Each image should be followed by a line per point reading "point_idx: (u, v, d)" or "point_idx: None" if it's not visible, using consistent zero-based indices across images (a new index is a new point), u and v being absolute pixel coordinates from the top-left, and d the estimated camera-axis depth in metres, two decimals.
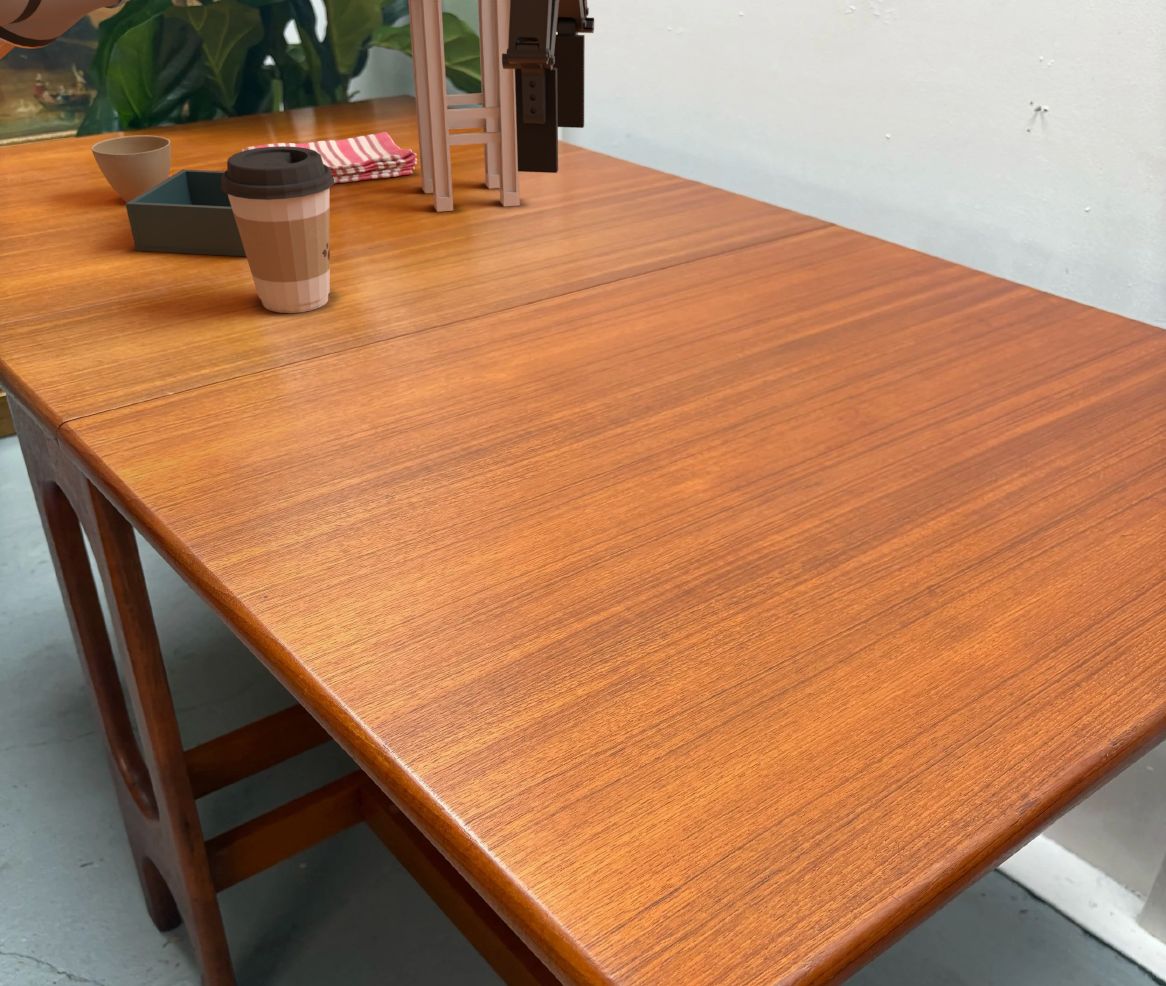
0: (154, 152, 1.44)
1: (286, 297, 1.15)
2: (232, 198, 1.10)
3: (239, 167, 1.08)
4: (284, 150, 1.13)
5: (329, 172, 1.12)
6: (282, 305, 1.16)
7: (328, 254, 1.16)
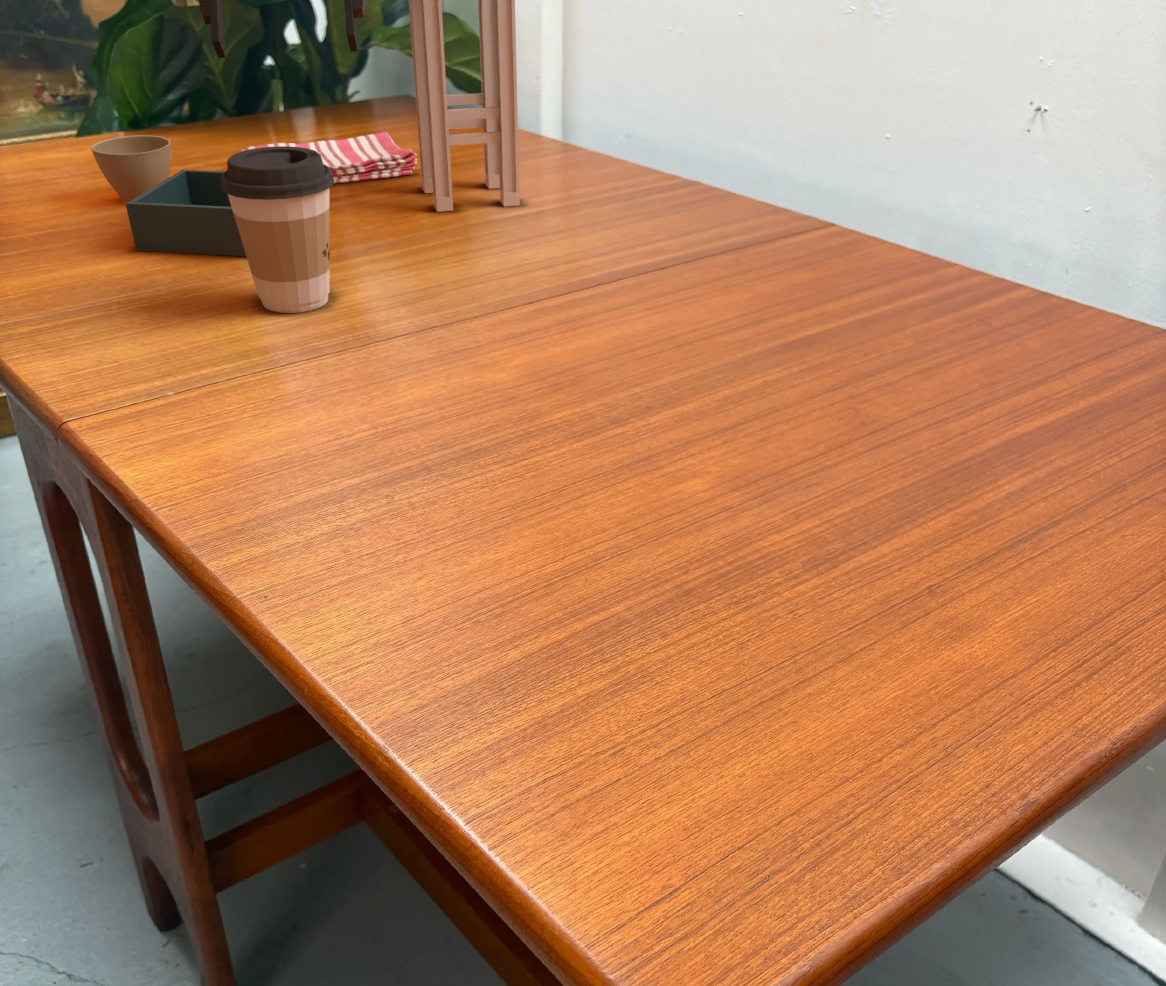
0: (154, 152, 1.44)
1: (286, 297, 1.15)
2: (232, 198, 1.10)
3: (239, 167, 1.08)
4: (284, 150, 1.13)
5: (329, 172, 1.12)
6: (282, 305, 1.16)
7: (328, 254, 1.16)
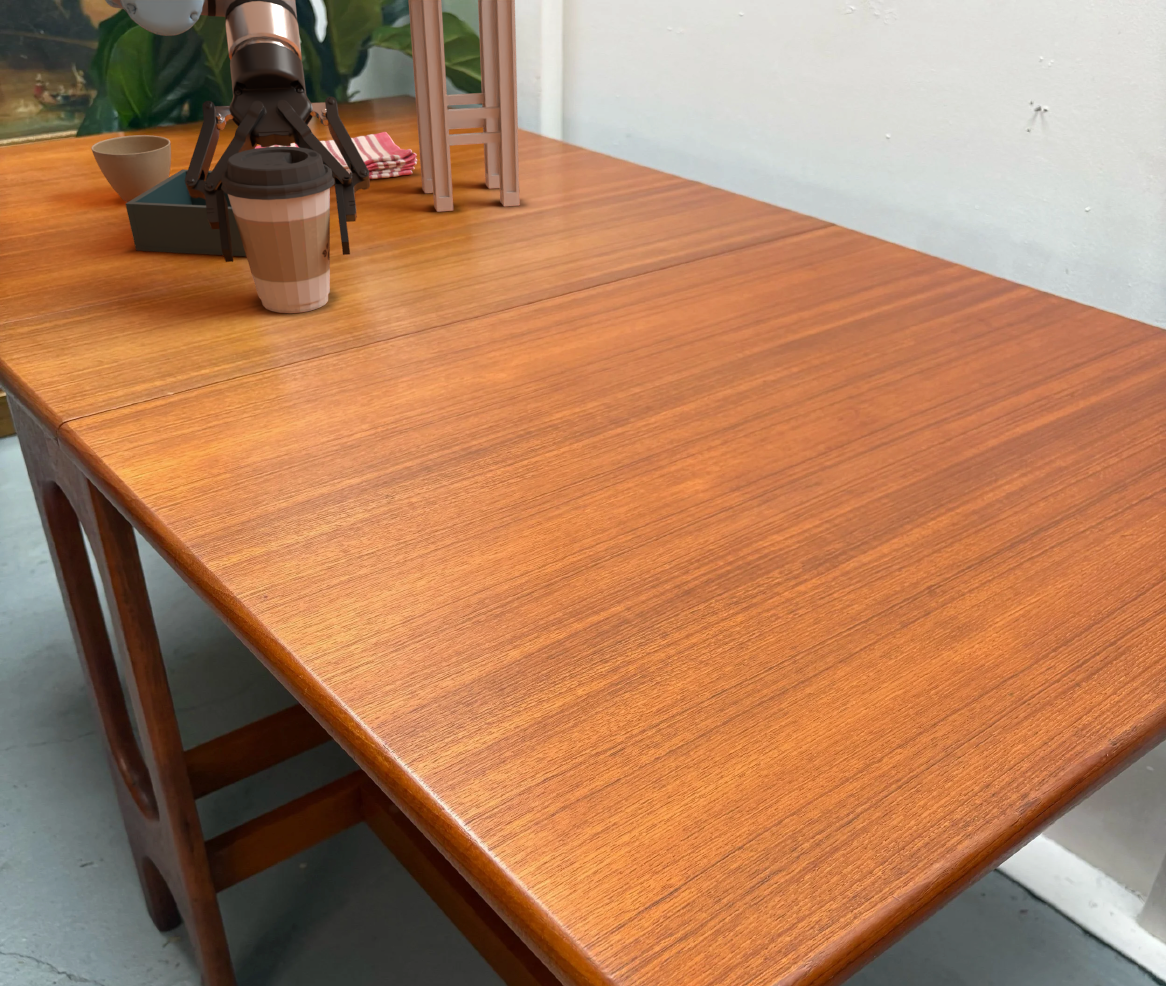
0: (154, 152, 1.44)
1: (286, 297, 1.15)
2: (232, 198, 1.10)
3: (239, 167, 1.08)
4: (284, 150, 1.13)
5: (329, 172, 1.12)
6: (282, 305, 1.16)
7: (328, 254, 1.16)
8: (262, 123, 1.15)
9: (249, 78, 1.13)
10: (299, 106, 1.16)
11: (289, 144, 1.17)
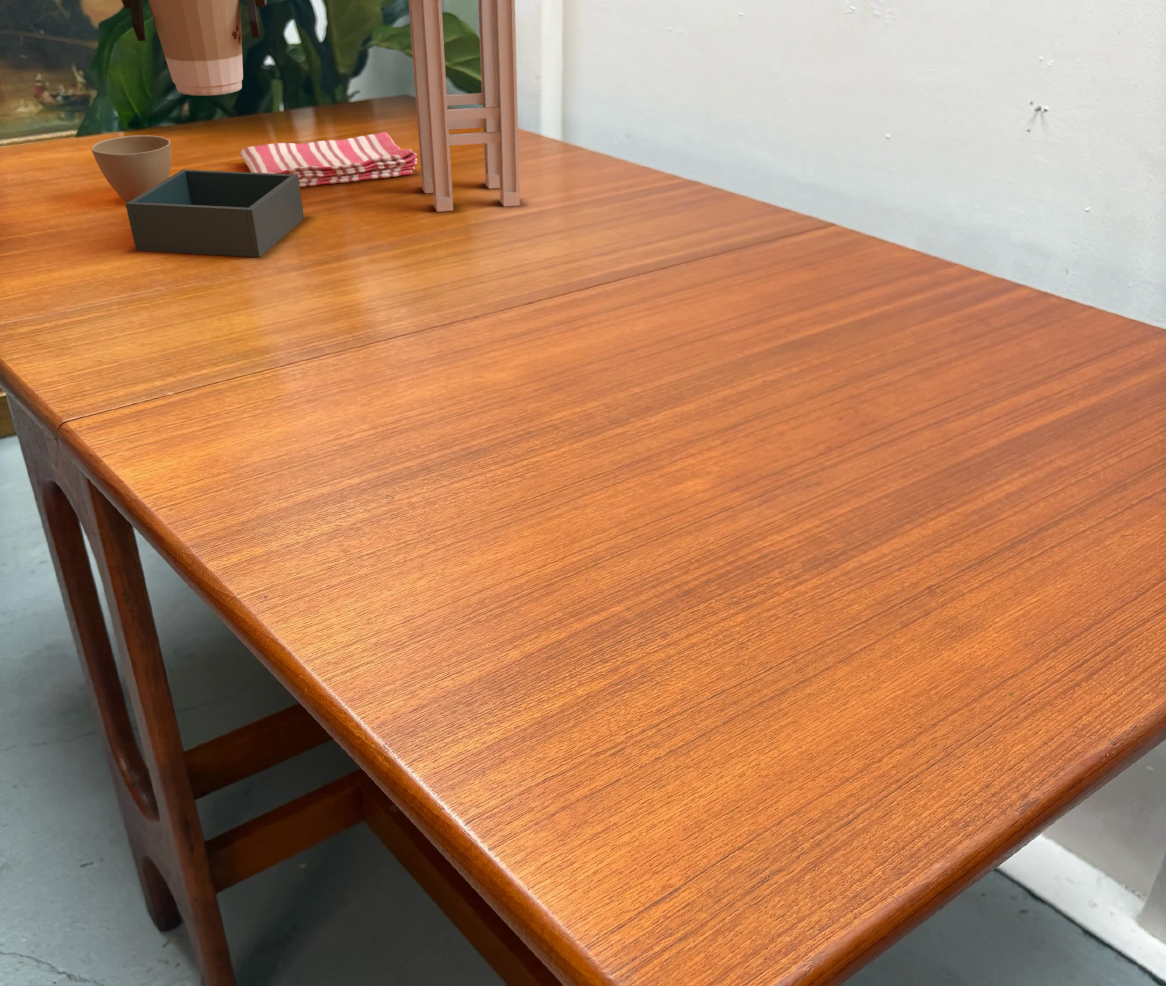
0: (154, 152, 1.44)
1: (197, 77, 1.19)
2: None
3: None
4: None
5: None
6: (193, 86, 1.20)
7: (239, 38, 1.20)
8: None
9: None
10: None
11: None
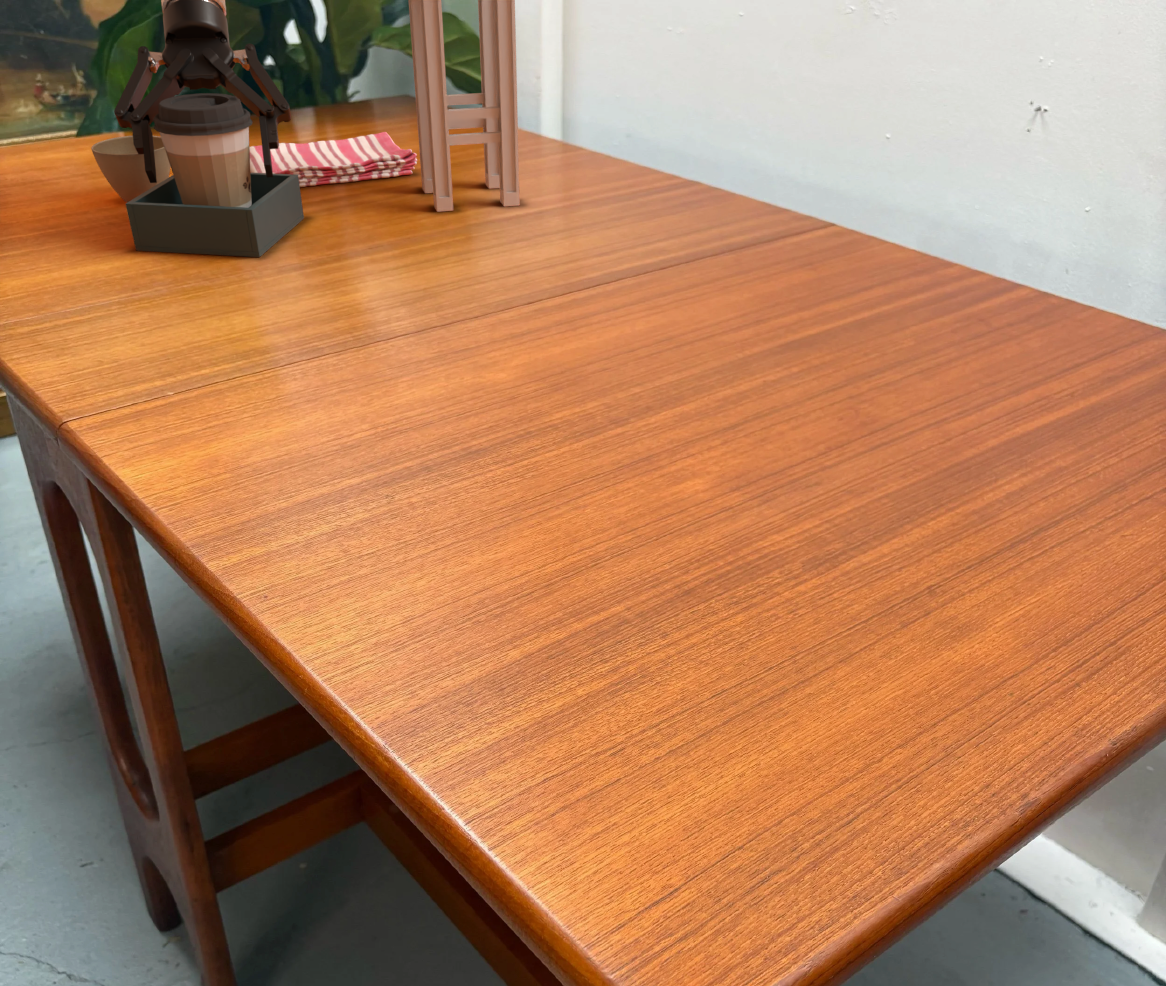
0: (154, 152, 1.44)
1: None
2: (163, 136, 1.28)
3: (167, 108, 1.26)
4: (209, 96, 1.32)
5: (247, 114, 1.30)
6: None
7: (249, 187, 1.35)
8: (190, 68, 1.33)
9: (178, 29, 1.32)
10: (222, 54, 1.34)
11: (214, 87, 1.35)
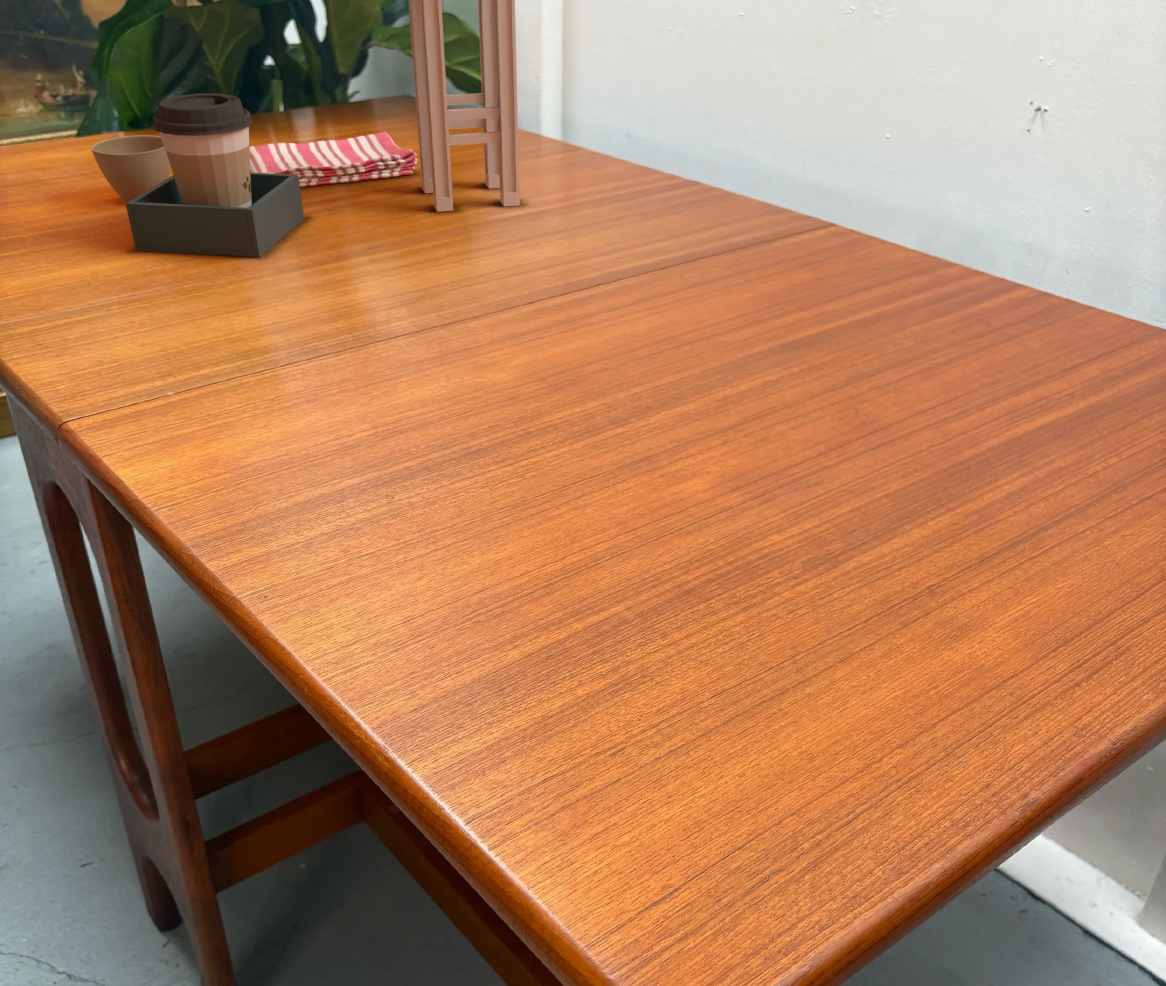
0: (154, 152, 1.44)
1: None
2: (163, 135, 1.28)
3: (167, 108, 1.26)
4: (209, 96, 1.32)
5: (247, 114, 1.30)
6: None
7: (249, 187, 1.35)
8: None
9: None
10: None
11: None
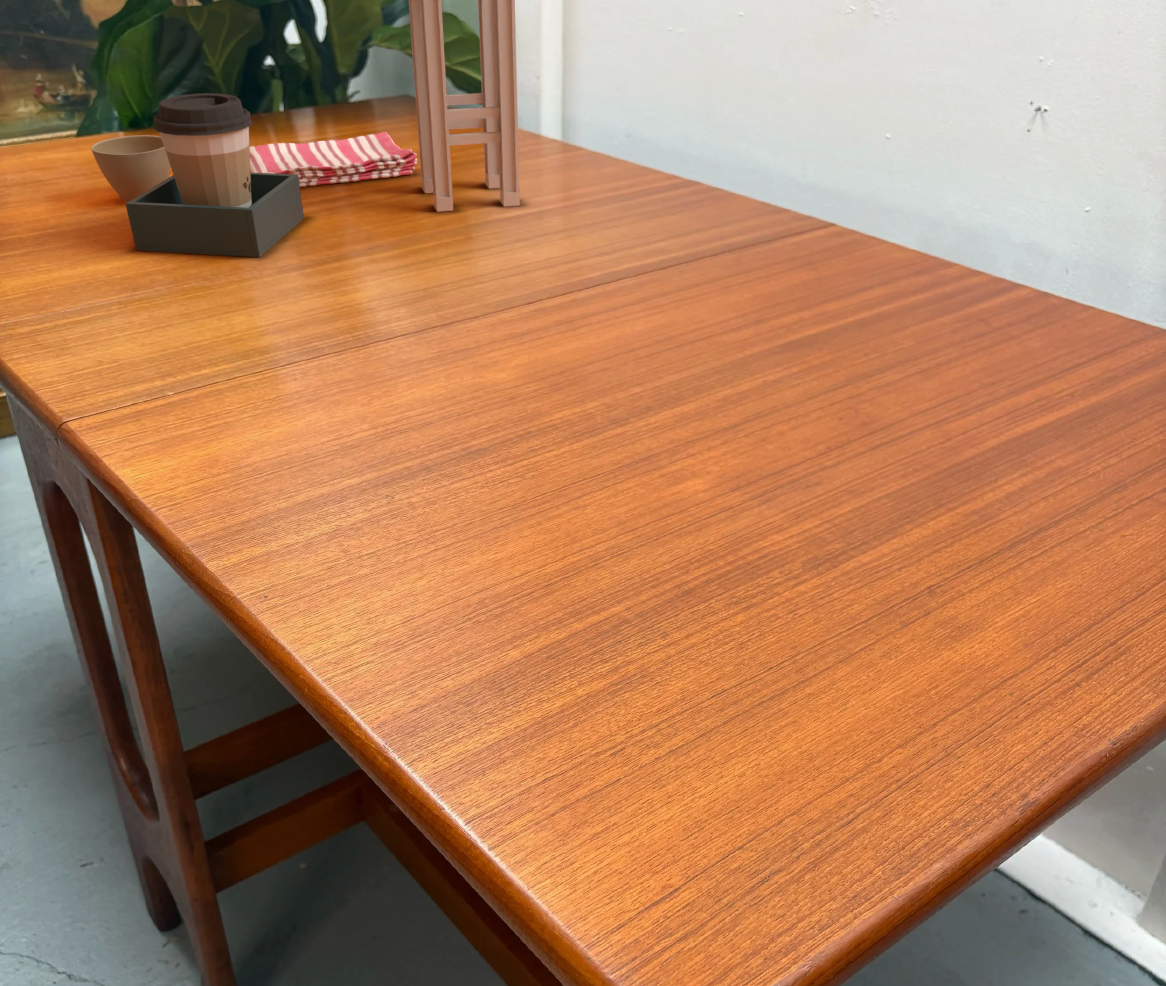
0: (154, 152, 1.44)
1: None
2: (163, 135, 1.28)
3: (167, 108, 1.26)
4: (209, 96, 1.32)
5: (247, 114, 1.30)
6: None
7: (249, 187, 1.35)
8: None
9: None
10: None
11: None
